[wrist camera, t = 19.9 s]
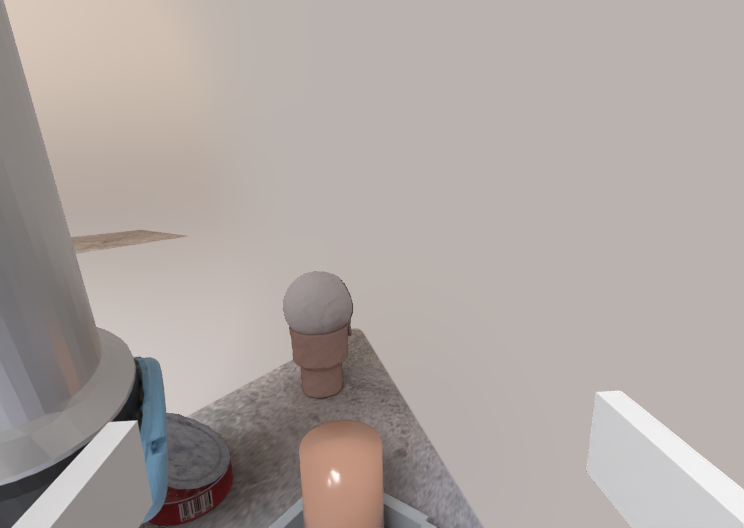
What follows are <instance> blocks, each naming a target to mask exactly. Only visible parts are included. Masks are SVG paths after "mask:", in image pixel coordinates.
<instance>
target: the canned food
mask: <svg viewBox="0 0 744 528" xmlns="http://www.w3.org/2000/svg"><path fill="white" fill-rule="evenodd" d="M166 419H167V429H166V431H167V438H166V442H167V448H168V488H167V495H166V499H165V502H164V504H163V506H162V508H161V510H160V511H159V512H158V513H157V514H156V515H155V516H154V517H153V518H152V519H151V520H149V522H151V523H153V524H156V525H162V526H172V525H178V524H183V523H186V522H189V521H192V520H195V519H197V518H199V517H201V516H203V515H205V514H206V513H208V512H209V511H211V510H212V509H213V508H215V507H216V506H217V505H218V504H219V503H220V502H221V501H222V500H223V499H224V498H225V497H226V495H227V493H228V492H229V490H230V488H231V485H232V481H233V475H232V467H231V457H230V452H229V446H228V445H227V444H226V442H225V441H224V440H223V438H222V437H221V435H219V434H218V433H216V432H214V431H213V430H212V429H211V428H210V427H209V426H206V425H204V424H201V423H199V422H198V421H196V420H194V419H190V418H186V417H184V416H182V415H180V414H173V413H166Z"/></svg>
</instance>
